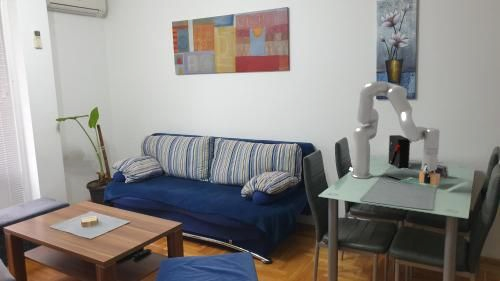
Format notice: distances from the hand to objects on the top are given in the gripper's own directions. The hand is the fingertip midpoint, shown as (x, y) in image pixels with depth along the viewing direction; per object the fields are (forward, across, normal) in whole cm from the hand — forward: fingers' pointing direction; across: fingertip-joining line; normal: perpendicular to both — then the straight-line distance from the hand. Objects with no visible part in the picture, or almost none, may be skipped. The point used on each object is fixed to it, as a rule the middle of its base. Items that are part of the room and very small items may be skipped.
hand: (429, 182), depth 220 cm
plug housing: (0, 0, 0) cm, 0 cm away
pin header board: (+3, -3, -5) cm, 7 cm away
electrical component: (+3, -36, -38) cm, 52 cm away
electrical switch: (+3, -23, -4) cm, 24 cm away
